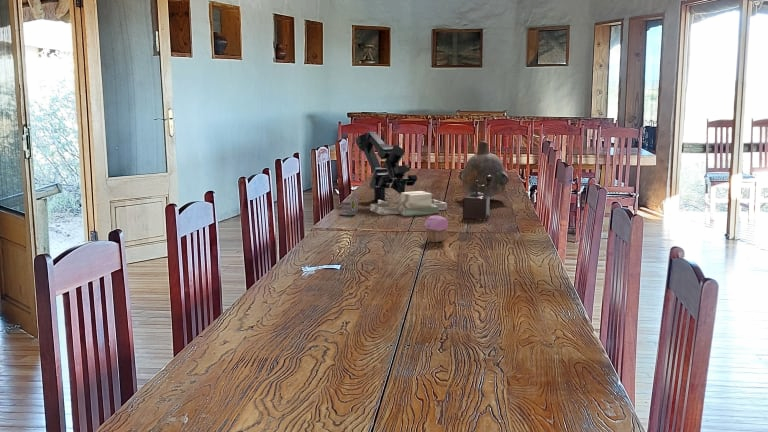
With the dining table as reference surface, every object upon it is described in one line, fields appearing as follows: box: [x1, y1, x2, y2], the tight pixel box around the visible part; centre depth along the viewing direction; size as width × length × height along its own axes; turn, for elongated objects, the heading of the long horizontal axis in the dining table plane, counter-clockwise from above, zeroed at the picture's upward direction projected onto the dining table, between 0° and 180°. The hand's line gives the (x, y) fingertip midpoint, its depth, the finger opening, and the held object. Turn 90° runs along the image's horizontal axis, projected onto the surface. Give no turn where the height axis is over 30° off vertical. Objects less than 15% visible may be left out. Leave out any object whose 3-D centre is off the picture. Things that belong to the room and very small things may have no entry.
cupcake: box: [424, 214, 449, 243], centre depth 287 cm, size 9×9×10 cm
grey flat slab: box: [369, 199, 448, 217], centre depth 355 cm, size 28×34×3 cm
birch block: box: [400, 190, 433, 209], centre depth 348 cm, size 9×11×9 cm
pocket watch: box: [339, 191, 359, 217], centre depth 340 cm, size 8×8×10 cm
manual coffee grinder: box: [462, 175, 494, 220], centre depth 339 cm, size 16×11×18 cm
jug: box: [458, 140, 510, 198], centre depth 381 cm, size 24×21×30 cm
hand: (403, 195), depth 358 cm, fingers closed
